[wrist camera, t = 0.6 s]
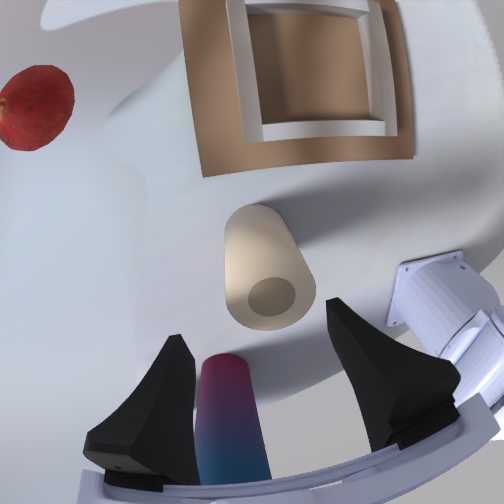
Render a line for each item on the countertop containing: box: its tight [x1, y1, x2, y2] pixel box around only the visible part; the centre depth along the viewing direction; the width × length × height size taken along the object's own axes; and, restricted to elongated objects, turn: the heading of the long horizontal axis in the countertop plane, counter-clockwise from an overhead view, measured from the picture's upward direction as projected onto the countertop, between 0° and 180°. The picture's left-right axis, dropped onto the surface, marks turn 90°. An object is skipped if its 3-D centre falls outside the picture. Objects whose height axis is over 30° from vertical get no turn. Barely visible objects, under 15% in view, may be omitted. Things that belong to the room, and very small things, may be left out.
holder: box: [178, 0, 413, 178], centre depth 14 cm, size 16×14×3 cm
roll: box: [225, 204, 316, 331], centre depth 17 cm, size 5×5×8 cm
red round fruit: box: [0, 65, 75, 151], centre depth 11 cm, size 6×6×8 cm
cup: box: [194, 354, 272, 501], centre depth 21 cm, size 7×7×15 cm
